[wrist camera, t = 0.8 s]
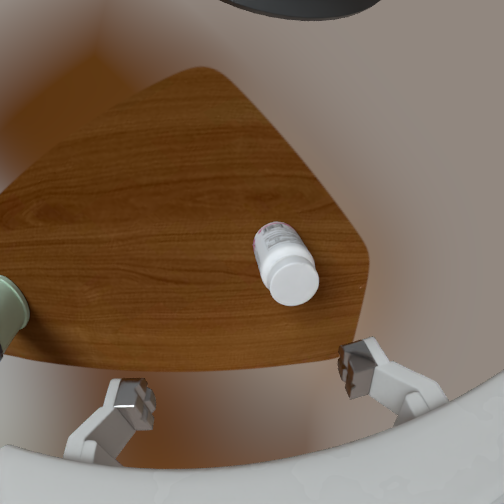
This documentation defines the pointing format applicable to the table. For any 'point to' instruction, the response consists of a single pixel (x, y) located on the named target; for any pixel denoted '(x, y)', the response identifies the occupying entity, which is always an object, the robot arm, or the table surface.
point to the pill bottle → (285, 264)
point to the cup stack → (11, 312)
